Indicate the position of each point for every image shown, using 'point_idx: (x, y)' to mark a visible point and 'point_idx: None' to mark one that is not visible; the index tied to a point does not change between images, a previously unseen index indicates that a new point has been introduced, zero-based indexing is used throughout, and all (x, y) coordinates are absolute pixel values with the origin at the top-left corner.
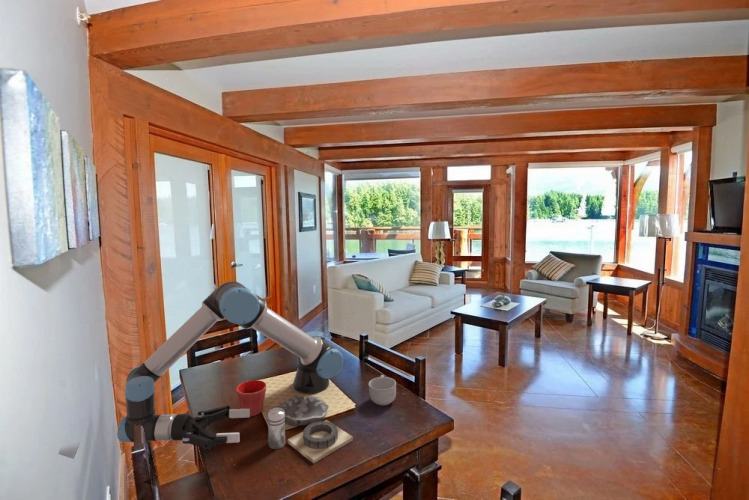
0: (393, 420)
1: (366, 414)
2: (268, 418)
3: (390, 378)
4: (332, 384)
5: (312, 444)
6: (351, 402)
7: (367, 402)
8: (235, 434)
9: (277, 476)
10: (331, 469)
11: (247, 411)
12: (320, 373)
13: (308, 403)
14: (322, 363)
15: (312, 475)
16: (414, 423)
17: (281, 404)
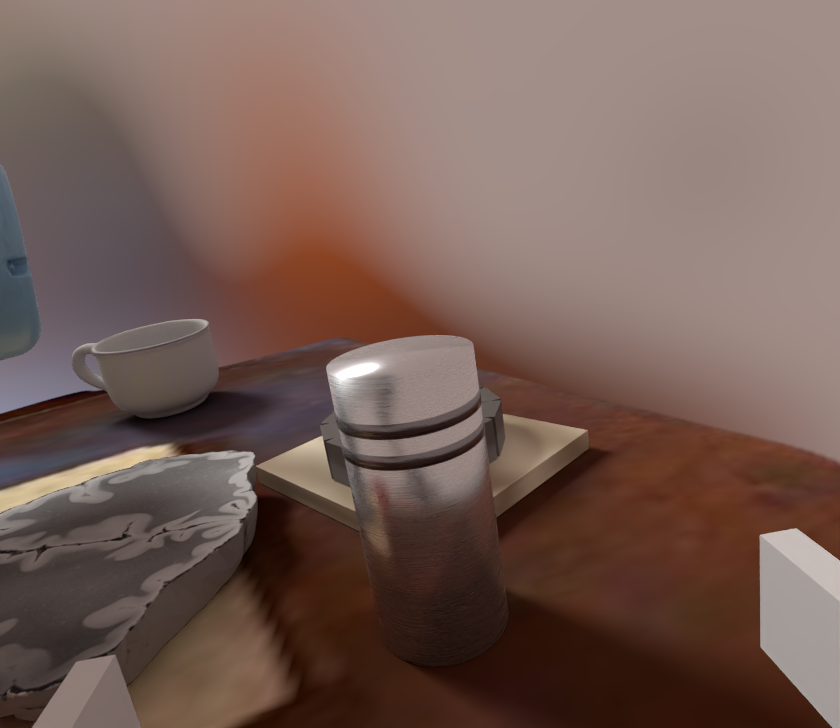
0: (307, 378)
1: (243, 416)
2: (448, 406)
3: (131, 330)
4: None
5: (498, 430)
6: (117, 458)
7: (153, 428)
8: (832, 559)
9: (762, 520)
10: (602, 411)
11: (109, 704)
12: (31, 292)
13: (49, 528)
14: (18, 218)
15: (666, 435)
16: (335, 357)
17: None
